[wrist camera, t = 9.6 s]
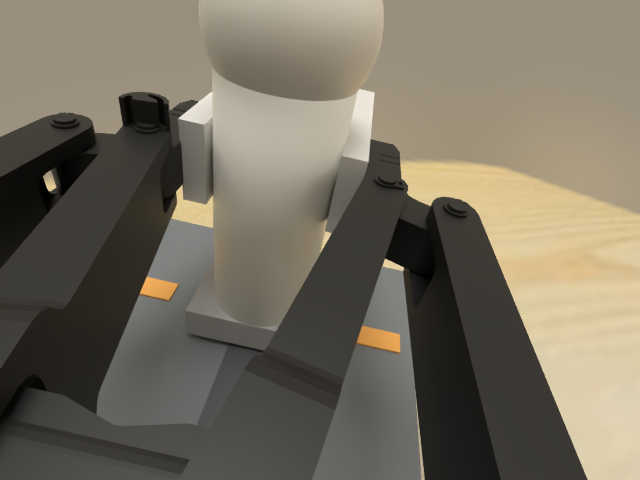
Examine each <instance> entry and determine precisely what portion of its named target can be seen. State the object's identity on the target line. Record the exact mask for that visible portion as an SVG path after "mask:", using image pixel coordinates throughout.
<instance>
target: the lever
mask: <svg viewBox="0 0 640 480" xmlns="http://www.w3.org/2000/svg"><path fill="white" fill-rule="evenodd" d="M199 23H200V30H201V36H202V40H203V44H204V47H205V50H206V53H207V56H208V58H209V60H210V63H211V65H212V113H213V240H214V260H213V262H212V264H211V266H210V267H209V269H208V271H207V273H206V275H205V276H204V278H203V280H202V282H201V283H200V285H199V287H198V289H197V291H196V292H195V294H194V296H193V298H192V300H191V301H190V303H189V305H188V307H187V309H186V310H185V313H186V325H187V333H189V334H193V335H198V336H202V337H206V338H211V339H215V340H220V341H224V342H228V343H233V344H237V345H242V346H246V347H250V348H255V349H259V350H264V351H265V349H266V348H267V346H268V345H269V343H270V341H271V339H272V338H273V336H274V334H275V332H276V331H277V329H278V327H279V325H280V324H281V322H282V320H283V318H284V317H285V315H286V313H287V311H288V310H289V308H290V306H291V304H292V303H293V301H294V299H295V297H296V296H297V294H298V292H299V290H300V289H301V287H302V285H303V283H304V282H305V280H306V278H307V276H308V275H309V273H310V271H311V269H312V268H313V266H314V264H315V262H316V261H317V259H318V257H319V255H320V252H321V248H322V243H323V239H324V235H325V228H326V223H327V219H328V215H329V210H330V206H331V202H332V197H333V193H334V189H335V184H336V180H337V176H338V171H339V167H340V163H341V158H342V154H343V150H344V145H345V143H346V140H347V136H348V132H349V128H350V123H351V119H352V115H353V110H354V106H355V102H356V97H357V93H358V90H359V89H360V88H361V87H362V85H363V84H364V83H365V81H366V79H367V78H368V76H369V74H370V73H371V70H372V68H373V66H374V64H375V62H376V59H377V56H378V53H379V49H380V46H381V41H382V35H383V24H384V14H383V2H382V0H199Z"/></svg>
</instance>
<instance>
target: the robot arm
mask: <svg viewBox="0 0 640 480" xmlns="http://www.w3.org/2000/svg"><path fill="white" fill-rule="evenodd" d="M373 102H374V92H370V91H365V90H361V89H359V90H358V93H357V97H356V102H355V106H354V110H353V115H352V119H351V123H350V128H349V132H348V136H347V140H346V143H345V145H344V150H343V154H342V158H341V163H340V167H339V171H338V176H337V180H336V184H335V189H334V193H333V197H332V202H331V206H330V210H329V215H328V219H327V223H326V228H325V231H326V232H330V233H332V234H331V236H330V238H329V240H328V241H327V243H326V245H325V247H324V248H323V250H322V252H321V254H320V255H319V257H318V259H317V261H316V262H315V264H314V266H313V268H312V269H311V271H310V273H309V275H308V276H307V278H306V280H305V282H304V283H303V285H302V287H301V289H300V290H299V292H298V294H297V296H296V297H295V299H294V301H293V303H292V304H291V306H290V308H289V310H288V311H287V313H286V315H285V317H284V318H283V320H282V322H281V324H280V325H279V327H278V329H277V331H276V332H275V334H274V336H273V338H272V339H271V341H270V343H269V345H268V346H267V348H266V349H265V351H264V352H263V353H262V354H261V355H260V354H256V355H255V356H254V357H253V358H252V359H251V360H250V361H249V363H248V364H247V366H246V367H245V369H244V370H243V372H242V374H241V375H240V377H239V379H238V380H237V382H236V384H235V386H234V387H233V389H232V391H231V392H230V394H229V396H228V397H227V399H226V401H225V402H224V404H223V406H222V407H221V409H220V411H219V412H218V414H217V416H216V417H215V419H214V421H213V422H212V424H211V426H210V427H209V428H205V427H201V426H197V425H192V424H188V423H185V424H160V425H136V426H118V425H114V424H112V423H110V422H108V421H106V420H105V419H103V418H101V417H100V416H98V415H97V400H98V395H99V392H100V389H101V386H102V383H103V381H104V379H105V376H106V374H107V371H108V369H109V367H110V364H111V362H112V359H113V357H114V354H115V352H116V350H117V347H118V345H119V342H120V340H121V338H122V335H123V333H124V330H125V328H126V326H127V323H128V321H129V318H130V316H131V314H132V311H133V309H134V306H135V304H136V301H137V299H138V297H139V294H140V292H141V289H142V287H143V285H144V282H145V280H146V277H147V275H148V273H149V270H150V268H151V265H152V263H153V260H154V258H155V256H156V253H157V251H158V248H159V246H160V244H161V241H162V239H163V236H164V234H165V232H166V229H167V227H168V224H169V222H170V220H171V217H172V215H173V212H174V210H175V207H176V205H177V197H176V191H177V190H178V189H179V188H180V186H181V185H183V199H185V200H189V201H194V202H198V203H202V204H207V202H208V201H209V199H210V198H211V197H212V195H213V113H212V92H211V93H209V94H208V95H207V96H206V97H205V98H203V99H202V100H201V101H199V102H198V101H194V100H190V101H186V102H183V103H180V104H178V105H177V106H176V107H174V108H173V110H170V111H169V101H168V100H167V99H166V98H165V97H163V96H161V95H158V94H153V93H145V92H133V93H127V94H123V95H121V96H120V97H119V103H120V109H121V115H122V121H123V126H122V127H121V129H120V130H119V131H118V132H117V133H116V134H105V133H95V131H94V127H93V122H92V121H91V120H90V119H89V118H87V117H85V116H82V115H77V114H74V113H67V114H66V113H59V114H56V115H50V116H47V117H44V118H41V119H39V120H37V121H35V122H33V123H30V124H28V125H26V126H24V127H22V128H19V129H17V130H15V131H13V132H10V133H8V134H6V135H4V136H2V137H0V480H312V479H313V476H314V473H315V470H316V467H317V464H318V461H319V458H320V455H321V452H322V449H323V446H324V443H325V440H326V437H327V434H328V431H329V428H330V425H331V422H332V419H333V416H334V413H335V410H336V407H337V403H338V400H339V397H340V394H341V388H342V385H343V382H344V378H345V376H346V373H347V370H348V367H349V364H350V361H351V358H352V355H353V352H354V349H355V346H356V343H357V340H358V337H359V334H360V331H361V328H362V325H363V322H364V319H365V316H366V313H367V310H368V307H369V304H370V301H371V298H372V295H373V292H374V289H375V286H376V283H377V280H378V277H379V274H380V271H381V268H382V266H383V263H384V260H385V259H388V260H390V261H392V262H394V263H396V264H398V265H400V266H402V267H404V271H403V277H404V286H405V296H406V305H407V314H408V324H409V333H410V343H411V352H412V362H413V371H414V381H415V390H416V399H417V409H418V418H419V428H420V437H421V447H422V456H423V466H424V475H425V480H587V477H586V475H585V473H584V470H583V468H582V465H581V463H580V460H579V458H578V456H577V453H576V451H575V448H574V446H573V443H572V441H571V439H570V436H569V434H568V431H567V429H566V426H565V424H564V421H563V419H562V417H561V414H560V412H559V409H558V407H557V404H556V402H555V400H554V397H553V395H552V392H551V390H550V387H549V385H548V383H547V380H546V378H545V375H544V373H543V370H542V368H541V365H540V363H539V361H538V358H537V356H536V353H535V351H534V348H533V346H532V344H531V341H530V339H529V336H528V334H527V331H526V329H525V327H524V324H523V322H522V319H521V317H520V314H519V312H518V309H517V307H516V305H515V302H514V300H513V297H512V295H511V292H510V290H509V288H508V285H507V283H506V280H505V278H504V275H503V273H502V271H501V268H500V266H499V263H498V261H497V258H496V256H495V254H494V251H493V249H492V246H491V244H490V241H489V239H488V236H487V234H486V232H485V229H484V227H483V224H482V222H481V219H480V217H479V215H478V213H477V212H476V210H475V209H473V208H472V207H471V206H470V205H469V204H468V203H466V202H463V201H462V200H459V199H454V198H449V197H440V198H436V199H435V200H434V201H433V203H432V205H431V206H428V205H426V204H424V203H421V202H419V201H417V200H415V199H413V198H412V197H410V196H409V195H408V194H407V191H408V185H407V184H406V182H405V181H404V180H402V179H401V168H400V152H399V151H398V149H397V148H396V147H395V146H394V145H393V144H388V143H384V142H379V141H375V140H371V139H370V138H371V125H372V114H373ZM50 170H51V171H52V175H53V178H54V181H55V184H56V187H57V188H55V189H54V190H52V191H50V192H49V191H48V189H47V187H46V184H45V181H44V178H43V176H44V175H45V174H46V173H47V172H48V171H50Z"/></svg>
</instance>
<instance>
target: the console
mask: <svg viewBox="0 0 640 480" xmlns="http://www.w3.org/2000/svg"><path fill="white" fill-rule="evenodd" d="M320 254H321V253H320ZM213 260H214V240H213V228H210V227H205V226H201V225H196V224H192V223H187V222H183V221H179V220H174V219H171V220H170V222H169V224H168V227H167V229H166V232H165V234H164V236H163V239H162V241H161V244H160V246H159V248H158V251H157V253H156V256H155V258H154V260H153V263H152V265H151V268H150V270H149V273H148V275H147V277H146V280H145V282H144V285H143V287H142V289H141V292H140V294H139V297H138V299H137V301H136V304H135V306H134V309H133V311H132V314H131V316H130V318H129V321H128V323H127V326H126V328H125V330H124V333H123V335H122V338H121V340H120V342H119V345H118V347H117V350H116V352H115V354H114V357H113V359H112V362H111V364H110V367H109V369H108V371H107V374H106V376H105V379H104V381H103V383H102V386H101V389H100V392H99V395H98V400H97V415H98V416H100V417H101V418H103V419H105V420H106V421H108V422H110V423H112V424H114V425H118V426H136V425H160V424H185V423H188V424H192V425H197V426H201V427H205V428H209V427H210V426H211V424H212V422H213V421H214V419H215V417H216V416H217V414H218V412H219V411H220V409H221V407H222V406H223V404H224V402H225V401H226V399H227V397H228V396H229V394H230V392H231V391H232V389H233V387H234V386H235V384H236V382H237V380H238V379H239V377H240V375H241V374H242V372H243V370H244V369H245V367H246V366H247V364H248V363H249V361H250V360H251V359H252V358H253V357H254V356H255V355H256V354H260V355H261V354H262V353H263V352H264V350H259V349H255V348H250V347H246V346H242V345H237V344H233V343H228V342H224V341H220V340H215V339H211V338H206V337H202V336H198V335H193V334H189V333H187V325H186V313H185V310H186V309H187V307H188V305H189V303H190V301H191V300H192V298H193V296H194V294H195V292H196V291H197V289H198V287H199V285H200V283H201V282H202V280H203V278H204V276H205V275H206V273H207V271H208V269H209V267H210V266H211V264H212V262H213ZM312 480H421V470H420V455H419V440H418V425H417V410H416V395H415V381H414V371H413V362H412V352H411V343H410V333H409V324H408V314H407V305H406V296H405V286H404V277H403V271H399V270H395V269H390V268H386V267H382V268H381V271H380V274H379V277H378V280H377V283H376V286H375V289H374V292H373V295H372V298H371V301H370V304H369V307H368V310H367V313H366V316H365V319H364V322H363V325H362V328H361V331H360V334H359V337H358V340H357V343H356V346H355V349H354V352H353V355H352V358H351V361H350V364H349V367H348V370H347V373H346V376H345V378H344V382H343V385H342V388H341V394H340V397H339V400H338V403H337V407H336V410H335V413H334V416H333V419H332V422H331V425H330V428H329V431H328V434H327V437H326V440H325V443H324V446H323V449H322V452H321V455H320V458H319V461H318V464H317V467H316V470H315V473H314V476H313V479H312Z"/></svg>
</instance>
